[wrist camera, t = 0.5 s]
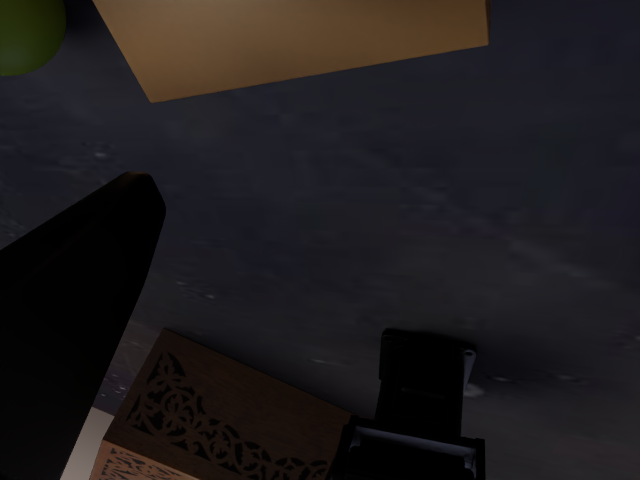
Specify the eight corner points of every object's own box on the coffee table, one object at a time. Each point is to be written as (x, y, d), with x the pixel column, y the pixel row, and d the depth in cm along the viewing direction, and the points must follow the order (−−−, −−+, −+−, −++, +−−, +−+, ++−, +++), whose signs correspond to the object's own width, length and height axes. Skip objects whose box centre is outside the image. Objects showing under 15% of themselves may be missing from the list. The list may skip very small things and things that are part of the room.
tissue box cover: (139, 386, 55) (88, 481, 48) (163, 328, 44) (102, 439, 38) (349, 476, 58) (329, 576, 52) (418, 443, 48) (403, 563, 41)
